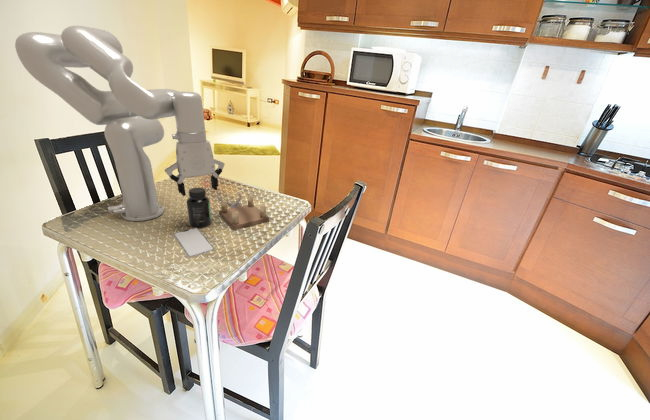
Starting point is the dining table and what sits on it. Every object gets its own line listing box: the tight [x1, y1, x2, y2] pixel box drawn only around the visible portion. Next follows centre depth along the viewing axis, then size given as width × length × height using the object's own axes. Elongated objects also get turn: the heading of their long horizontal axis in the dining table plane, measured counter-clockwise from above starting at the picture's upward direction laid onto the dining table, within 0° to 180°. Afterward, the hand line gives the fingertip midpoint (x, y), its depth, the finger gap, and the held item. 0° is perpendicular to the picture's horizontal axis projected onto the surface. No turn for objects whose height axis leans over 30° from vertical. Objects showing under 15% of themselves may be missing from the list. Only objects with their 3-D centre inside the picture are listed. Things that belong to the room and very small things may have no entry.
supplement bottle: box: [186, 187, 212, 229], centre depth 95 cm, size 7×7×12 cm
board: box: [218, 194, 270, 231], centre depth 103 cm, size 13×13×6 cm
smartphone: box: [173, 227, 215, 258], centre depth 88 cm, size 7×1×15 cm
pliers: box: [216, 192, 242, 208], centre depth 115 cm, size 10×1×20 cm
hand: (199, 191), depth 93 cm, fingers open, 9 cm apart
